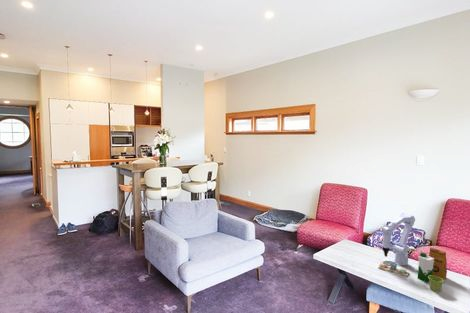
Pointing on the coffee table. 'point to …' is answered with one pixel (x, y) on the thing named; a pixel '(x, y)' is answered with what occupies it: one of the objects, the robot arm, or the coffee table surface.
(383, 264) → the button terracotta
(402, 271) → the button sage
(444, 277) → the coffee package
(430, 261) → the milk carton
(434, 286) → the plant pot
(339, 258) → the coffee table surface
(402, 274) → the button panel
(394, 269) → the button grey
